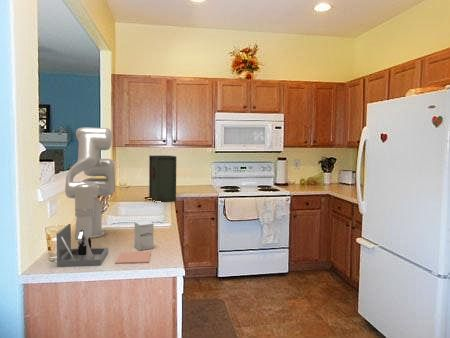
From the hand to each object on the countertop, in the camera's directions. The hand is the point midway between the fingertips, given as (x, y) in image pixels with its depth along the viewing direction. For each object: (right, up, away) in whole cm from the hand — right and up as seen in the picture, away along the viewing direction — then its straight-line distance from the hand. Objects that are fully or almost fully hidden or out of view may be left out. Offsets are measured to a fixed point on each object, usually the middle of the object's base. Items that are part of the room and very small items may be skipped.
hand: (85, 251), depth 150 cm
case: (0, -3, 0) cm, 4 cm away
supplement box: (+22, -3, +19) cm, 29 cm away
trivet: (+21, -4, +3) cm, 21 cm away
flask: (0, -4, 0) cm, 4 cm away
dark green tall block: (+6, +8, +156) cm, 156 cm away
